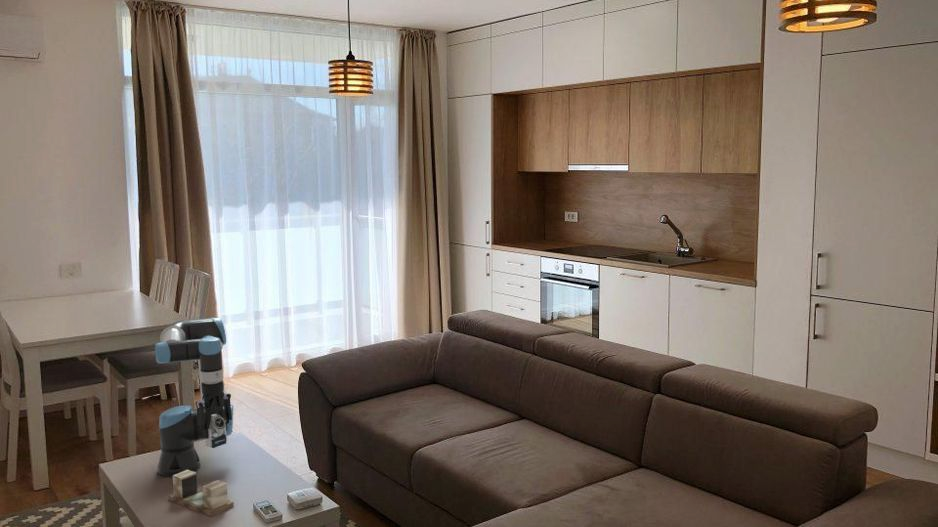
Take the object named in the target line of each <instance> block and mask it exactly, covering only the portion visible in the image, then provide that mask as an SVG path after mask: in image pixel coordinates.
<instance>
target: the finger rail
mask: <svg viewBox="0 0 938 527" xmlns="http://www.w3.org/2000/svg"><path fill="white" fill-rule="evenodd" d="M197 480H198V478H197V471H195V472H193V471H190V470H185V471H183V472H180V473H178V474H175V475H173V477H172V483H173V484H172V485H173V493H172V494H169V495H168V501H170V502H173V503H175V504H177V505H180V506H183V507H185V506H186V508H188V507H189V508H188V509H190V508H191V510H194V511H196V512H198V513H202V514H203V515H206V516H209V517H213V516H216V515H218V514H220V513H223V512H224V511H226V510H229V509H231V508H233V507H234V504H235V503H234V502H233V501H232V500H229V499H228V483H227V482H224V481H222V480H219V479H217V480H214V481H212V482H210V483H207V484H205V485H203V486H202V489H199V488H198V481H197Z"/></svg>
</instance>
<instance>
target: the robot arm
mask: <svg viewBox="0 0 938 527" xmlns="http://www.w3.org/2000/svg"><path fill="white" fill-rule="evenodd" d="M225 329H226V328H225V325H224V322H223V320H222V319H221V318H220V317H212V316H211V317H208V318H207V317H206V318H191V319H183V320H178V321H175V322H173V323H171V324H169V325H167V326H166V327H164V329H163V330H162V331H161V332H160V335H159V336H160V337H159V342H156V344H155V347H154V349H155V350H154V351H155V361H156V363H157V364H169V363H170V364H171V363H179V362H188V361H190V362H191V361H198V375H199V387H200V388H199V389H200V401H196V402H195V406H196V408H194V409H193V408H192V406H191V405H177V406H174V407H170V408H168V409H166V410H164V411H163V412H162V413H161V414H160V415H159V420H158V428H159V434H160V435H159V436H160V448H161V449H160V456H159V459H158V464H157V468H156V469H157V474H158V475H160V476H162V477H170V478H173V475H175V474H178V473H180V472H183V471H185V470H190V471H193V472H197V471H198V470H199V469H201V460H200V456H199V454H198V453H197V450H196V448H195V441H202V440H203V441H205V444H204V445H205V447H208V448H212V436H211V429H209V426H210V420H211V415H213V414H218V415H220V416H221V417H223V418H224V419H225V420H226V426H225V430H224V433H223V434H224V435H226V442H227V441H228V440H227V439H228V436H231V435H232V433H233V427H234V425H233V424H234V405H233V404H231V397H232V394H231V393H228V392H224V390H225V386H224V385H225V384H224V370H223V355H222V350H223V348H224V346H225V345H226V344H227V336H226V335H227V334H226V330H225ZM215 432H216V430H215ZM216 433H218V432H216Z"/></svg>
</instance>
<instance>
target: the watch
mask: <svg viewBox="0 0 938 527" xmlns="http://www.w3.org/2000/svg"><path fill="white" fill-rule="evenodd" d="M225 426H226V420H225V419H224V418H223V417H221V416H220V415H218V414H213V415H211V420H210V426H209V429H211V436H212V447H211V448H212V449H214V448H215V449H216V448H218V447H220V446H223V445H227V441H226V435H224V434H223V433H224V430H225ZM215 430H216V432H218V433H216V432H215Z"/></svg>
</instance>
